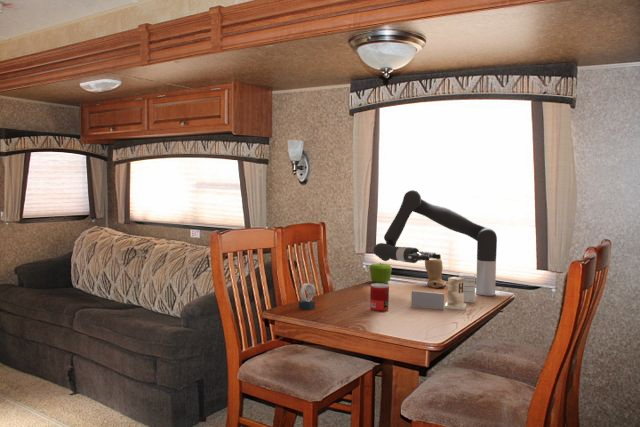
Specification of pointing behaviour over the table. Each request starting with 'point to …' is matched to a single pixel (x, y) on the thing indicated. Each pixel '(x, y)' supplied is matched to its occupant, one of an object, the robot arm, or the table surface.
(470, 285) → the supplement box
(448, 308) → the mat
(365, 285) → the table surface
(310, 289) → the snow globe
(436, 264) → the tan boot
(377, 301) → the canned food
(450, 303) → the marked block
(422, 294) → the screen
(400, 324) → the table surface
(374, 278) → the apple
